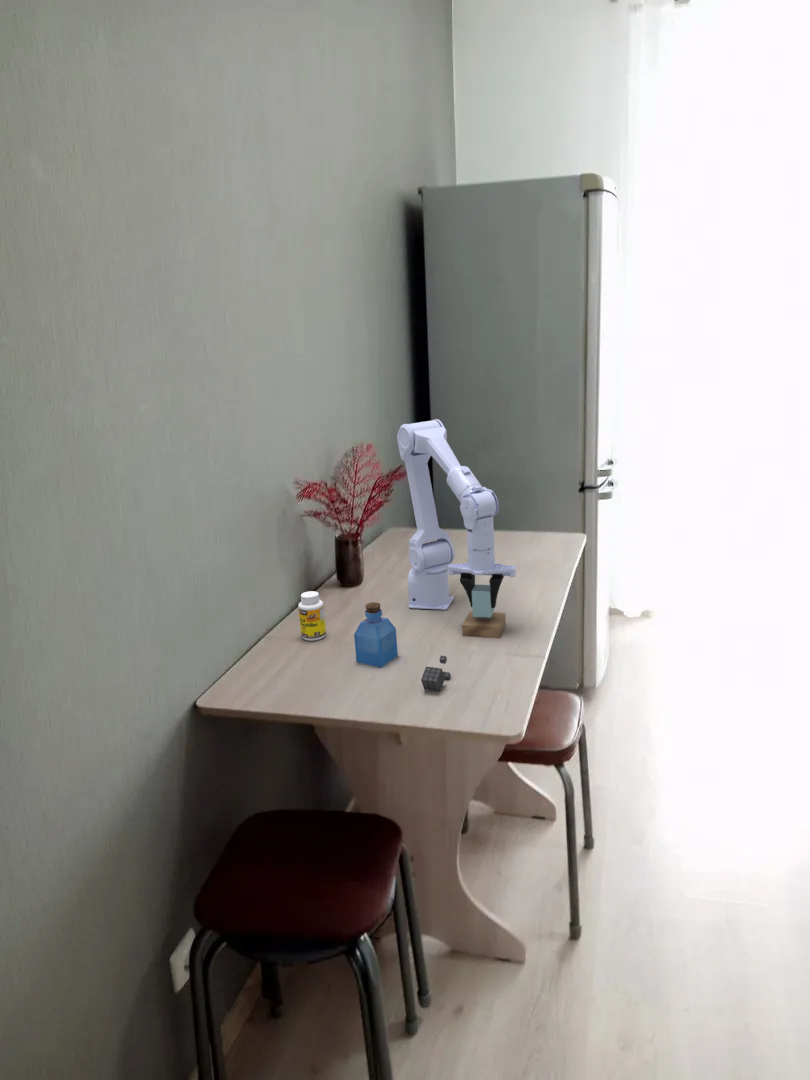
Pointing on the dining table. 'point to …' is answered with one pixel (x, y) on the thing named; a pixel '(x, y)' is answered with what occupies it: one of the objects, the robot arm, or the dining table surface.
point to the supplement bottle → (311, 616)
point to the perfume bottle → (375, 638)
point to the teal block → (482, 601)
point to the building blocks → (435, 677)
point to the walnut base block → (483, 625)
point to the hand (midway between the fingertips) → (483, 606)
